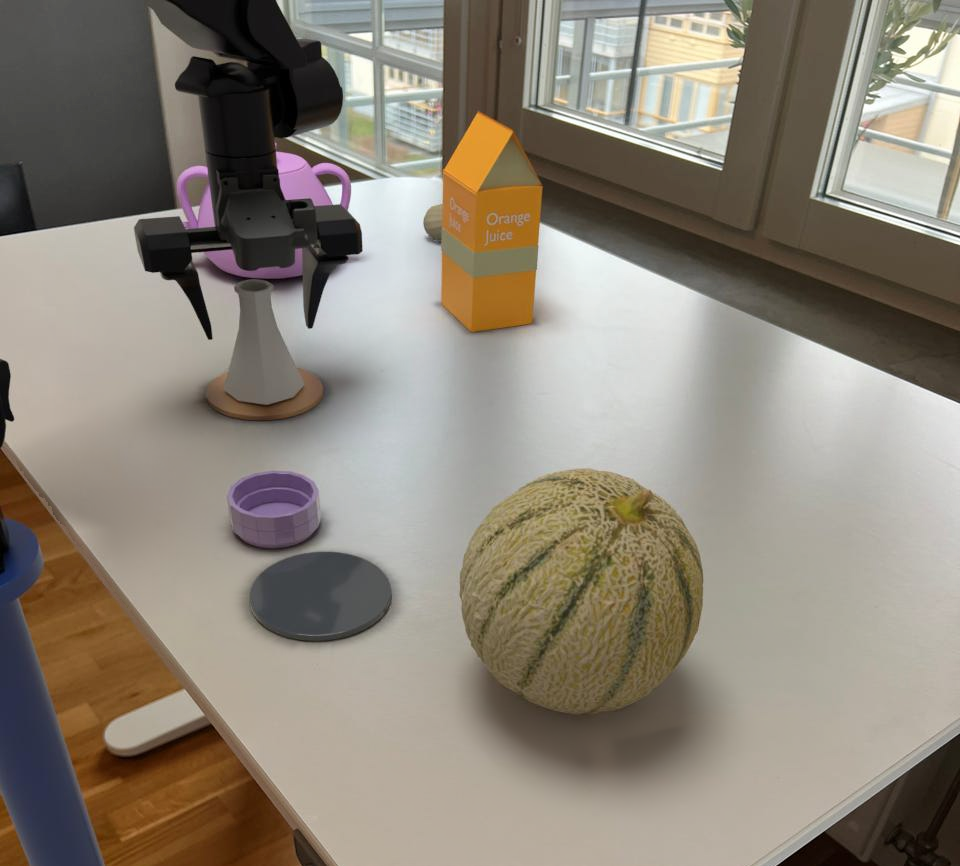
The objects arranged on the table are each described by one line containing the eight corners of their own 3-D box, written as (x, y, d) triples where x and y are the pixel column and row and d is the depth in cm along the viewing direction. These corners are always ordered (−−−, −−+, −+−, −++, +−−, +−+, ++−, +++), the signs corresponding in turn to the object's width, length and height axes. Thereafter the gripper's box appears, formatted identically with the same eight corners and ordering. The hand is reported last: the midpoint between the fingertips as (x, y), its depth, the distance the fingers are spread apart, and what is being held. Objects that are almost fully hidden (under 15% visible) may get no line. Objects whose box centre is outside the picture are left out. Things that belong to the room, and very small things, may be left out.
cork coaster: (217, 427, 90) (217, 422, 89) (198, 377, 97) (197, 372, 97) (336, 411, 93) (336, 406, 93) (308, 363, 101) (307, 359, 100)
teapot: (181, 308, 111) (161, 175, 102) (180, 243, 127) (162, 125, 118) (377, 298, 115) (373, 171, 106) (351, 237, 131) (346, 122, 122)
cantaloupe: (457, 609, 70) (462, 416, 61) (662, 613, 71) (699, 422, 61) (456, 762, 59) (463, 554, 49) (701, 765, 59) (754, 560, 50)
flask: (318, 386, 96) (311, 283, 89) (267, 414, 91) (256, 306, 85) (261, 367, 99) (251, 265, 92) (209, 392, 94) (194, 287, 87)
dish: (241, 557, 74) (236, 523, 72) (225, 511, 79) (220, 478, 77) (330, 541, 76) (327, 508, 74) (308, 497, 81) (306, 465, 79)
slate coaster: (266, 654, 66) (265, 648, 65) (237, 570, 73) (236, 565, 73) (409, 624, 69) (409, 618, 69) (368, 546, 76) (368, 541, 76)
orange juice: (470, 332, 108) (477, 132, 96) (439, 303, 115) (442, 112, 102) (534, 323, 111) (549, 127, 98) (500, 295, 117) (510, 108, 104)
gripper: (134, 183, 73) (169, 382, 83) (378, 168, 79) (383, 355, 88) (118, 145, 81) (151, 331, 91) (341, 134, 86) (349, 309, 96)
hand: (260, 332), depth 91 cm, fingers open, 9 cm apart
